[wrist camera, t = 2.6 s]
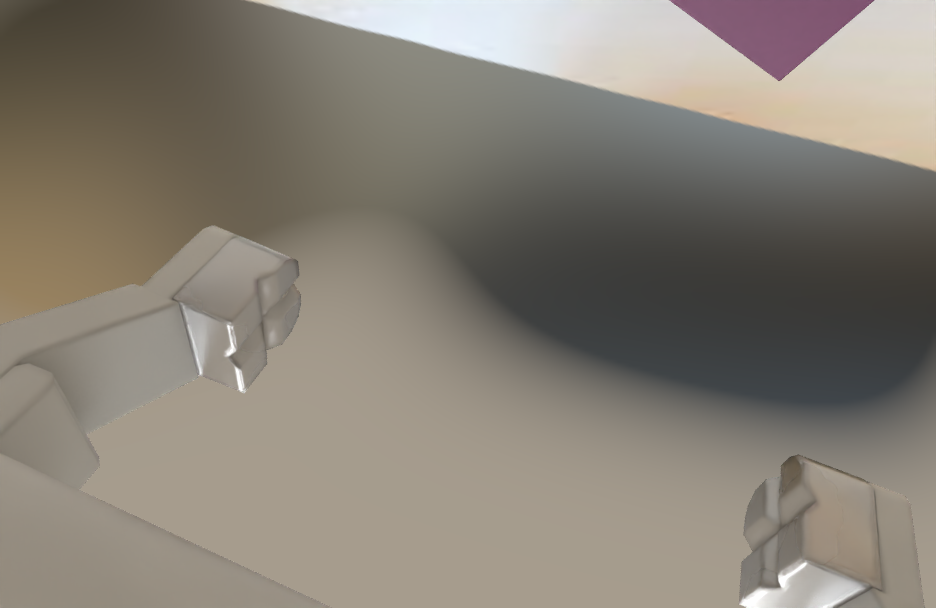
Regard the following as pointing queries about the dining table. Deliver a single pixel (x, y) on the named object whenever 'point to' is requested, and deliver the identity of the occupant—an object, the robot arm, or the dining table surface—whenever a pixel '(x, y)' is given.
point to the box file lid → (774, 27)
